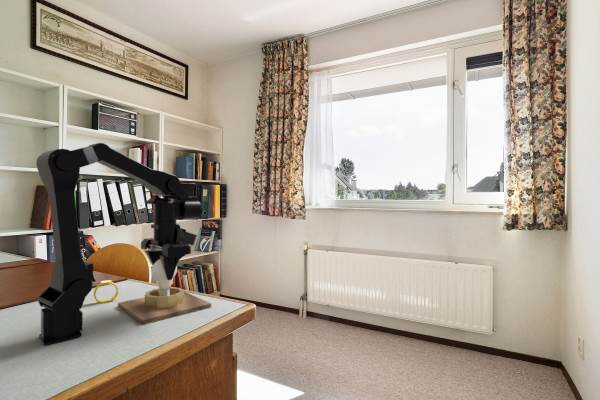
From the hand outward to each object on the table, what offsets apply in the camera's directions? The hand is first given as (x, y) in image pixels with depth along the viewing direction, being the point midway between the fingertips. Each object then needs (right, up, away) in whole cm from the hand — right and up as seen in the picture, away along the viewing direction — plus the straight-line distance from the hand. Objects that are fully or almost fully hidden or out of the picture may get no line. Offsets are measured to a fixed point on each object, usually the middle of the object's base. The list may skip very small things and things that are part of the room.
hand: (164, 277), depth 90 cm
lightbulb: (0, -6, 0) cm, 6 cm away
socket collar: (0, -8, 0) cm, 8 cm away
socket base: (0, -8, 0) cm, 8 cm away
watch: (-18, -8, +4) cm, 21 cm away
